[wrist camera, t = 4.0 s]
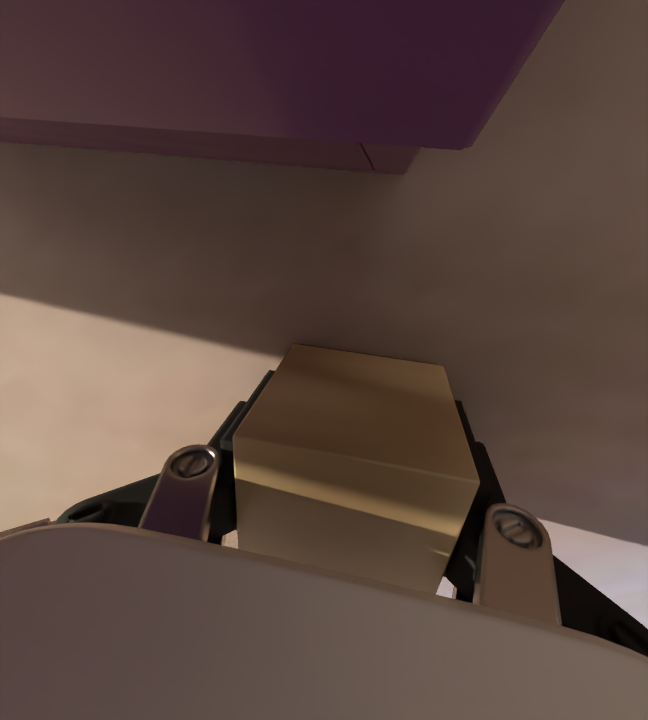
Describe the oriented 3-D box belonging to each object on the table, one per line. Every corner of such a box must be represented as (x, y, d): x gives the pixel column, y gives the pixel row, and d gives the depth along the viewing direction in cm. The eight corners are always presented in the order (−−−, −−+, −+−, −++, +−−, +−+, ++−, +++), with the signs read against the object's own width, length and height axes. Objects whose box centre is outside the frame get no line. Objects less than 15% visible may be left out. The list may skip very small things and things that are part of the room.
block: (288, 454, 14) (238, 579, 9) (293, 342, 11) (230, 435, 7) (412, 478, 13) (424, 624, 9) (444, 364, 11) (482, 482, 6)
